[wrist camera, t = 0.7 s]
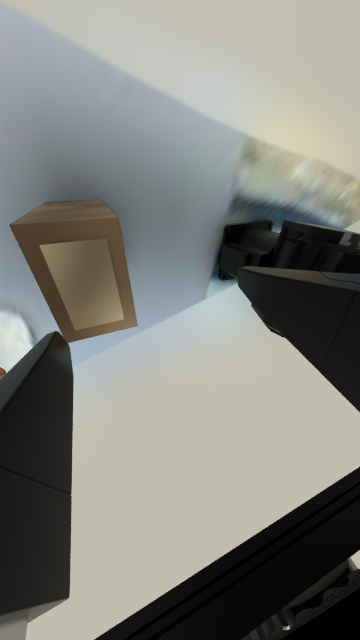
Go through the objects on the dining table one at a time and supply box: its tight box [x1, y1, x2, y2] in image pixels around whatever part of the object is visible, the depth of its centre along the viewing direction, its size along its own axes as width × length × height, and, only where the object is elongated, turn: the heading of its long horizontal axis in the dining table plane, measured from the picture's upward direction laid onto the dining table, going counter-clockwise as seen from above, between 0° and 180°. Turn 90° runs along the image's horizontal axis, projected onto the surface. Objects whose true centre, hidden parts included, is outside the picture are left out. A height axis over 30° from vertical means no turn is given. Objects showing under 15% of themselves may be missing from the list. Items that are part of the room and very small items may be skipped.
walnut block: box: [10, 200, 138, 343], centre depth 13 cm, size 4×6×10 cm, turn 0°
